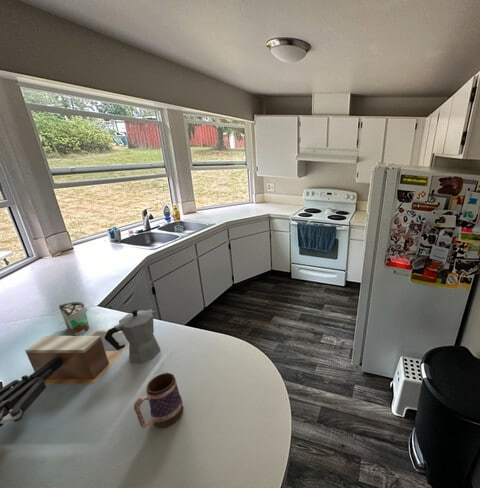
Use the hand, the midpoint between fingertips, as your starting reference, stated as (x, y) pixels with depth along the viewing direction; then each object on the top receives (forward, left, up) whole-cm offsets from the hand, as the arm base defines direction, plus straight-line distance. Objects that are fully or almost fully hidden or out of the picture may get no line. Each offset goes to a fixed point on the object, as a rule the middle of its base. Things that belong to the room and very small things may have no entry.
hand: (58, 361), depth 72 cm
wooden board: (0, +11, -8) cm, 13 cm away
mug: (+35, -12, -8) cm, 38 cm away
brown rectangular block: (0, +3, -7) cm, 8 cm away
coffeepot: (+16, +10, -8) cm, 20 cm away
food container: (-16, +25, -8) cm, 31 cm away
